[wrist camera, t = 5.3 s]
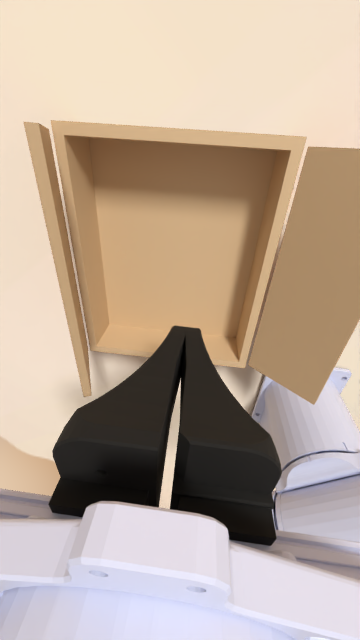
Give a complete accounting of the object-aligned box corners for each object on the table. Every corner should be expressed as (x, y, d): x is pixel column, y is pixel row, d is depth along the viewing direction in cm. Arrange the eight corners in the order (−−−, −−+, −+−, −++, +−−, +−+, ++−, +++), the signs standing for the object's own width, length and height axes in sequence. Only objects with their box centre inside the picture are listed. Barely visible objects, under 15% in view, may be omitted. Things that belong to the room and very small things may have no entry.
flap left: (48, 129, 14) (38, 128, 14) (38, 123, 10) (23, 121, 10) (87, 346, 22) (81, 347, 22) (91, 395, 18) (83, 396, 18)
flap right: (248, 365, 22) (251, 362, 22) (313, 404, 18) (316, 401, 19) (308, 146, 13) (311, 147, 14) (446, 152, 10) (447, 152, 10)
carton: (240, 339, 25) (244, 368, 22) (106, 325, 26) (90, 350, 23) (287, 140, 16) (306, 136, 13) (82, 126, 17) (50, 120, 14)
